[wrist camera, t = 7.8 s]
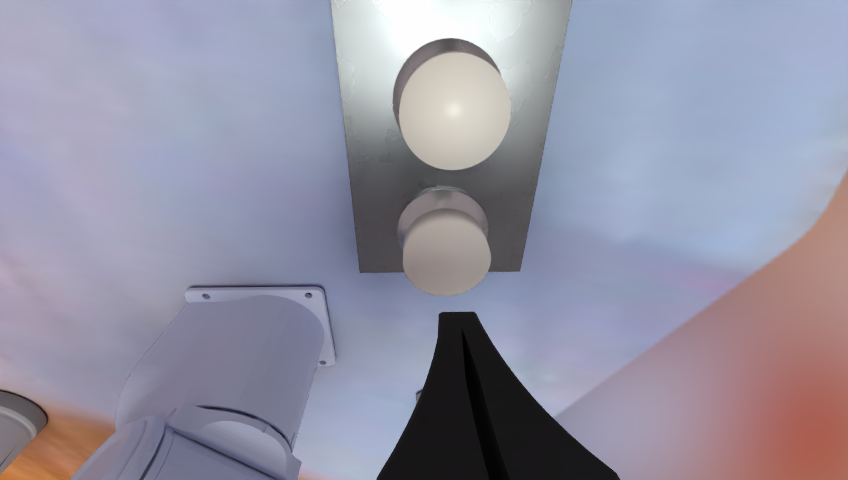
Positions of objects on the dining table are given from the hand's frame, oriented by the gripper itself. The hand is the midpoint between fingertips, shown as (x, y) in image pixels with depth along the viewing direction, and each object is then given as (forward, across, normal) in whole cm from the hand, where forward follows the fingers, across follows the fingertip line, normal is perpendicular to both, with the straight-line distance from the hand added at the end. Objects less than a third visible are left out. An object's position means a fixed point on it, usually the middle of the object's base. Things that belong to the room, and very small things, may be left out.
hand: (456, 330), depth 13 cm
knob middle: (+8, 0, -7) cm, 10 cm away
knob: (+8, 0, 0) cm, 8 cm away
